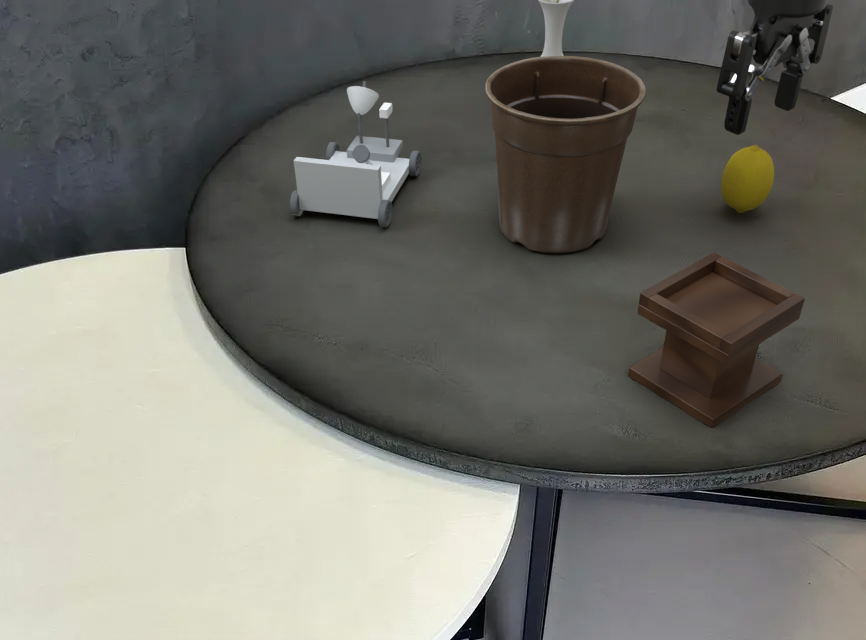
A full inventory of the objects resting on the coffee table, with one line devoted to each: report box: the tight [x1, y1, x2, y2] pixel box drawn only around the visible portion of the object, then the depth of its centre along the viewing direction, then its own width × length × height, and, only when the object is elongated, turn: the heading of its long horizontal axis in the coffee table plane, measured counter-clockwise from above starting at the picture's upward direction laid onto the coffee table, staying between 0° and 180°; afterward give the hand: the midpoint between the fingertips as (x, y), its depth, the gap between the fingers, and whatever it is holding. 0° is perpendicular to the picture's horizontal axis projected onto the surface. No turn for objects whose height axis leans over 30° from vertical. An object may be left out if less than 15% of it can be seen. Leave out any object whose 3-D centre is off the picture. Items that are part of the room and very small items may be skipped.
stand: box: [627, 252, 806, 428], centre depth 89 cm, size 10×10×9 cm
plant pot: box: [484, 55, 646, 254], centre depth 107 cm, size 16×16×16 cm
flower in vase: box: [537, 0, 575, 57], centre depth 126 cm, size 13×11×25 cm
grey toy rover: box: [289, 80, 423, 228], centre depth 117 cm, size 18×10×12 cm
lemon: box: [720, 144, 775, 214], centre depth 111 cm, size 6×6×8 cm
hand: (759, 119), depth 106 cm, fingers open, 8 cm apart
